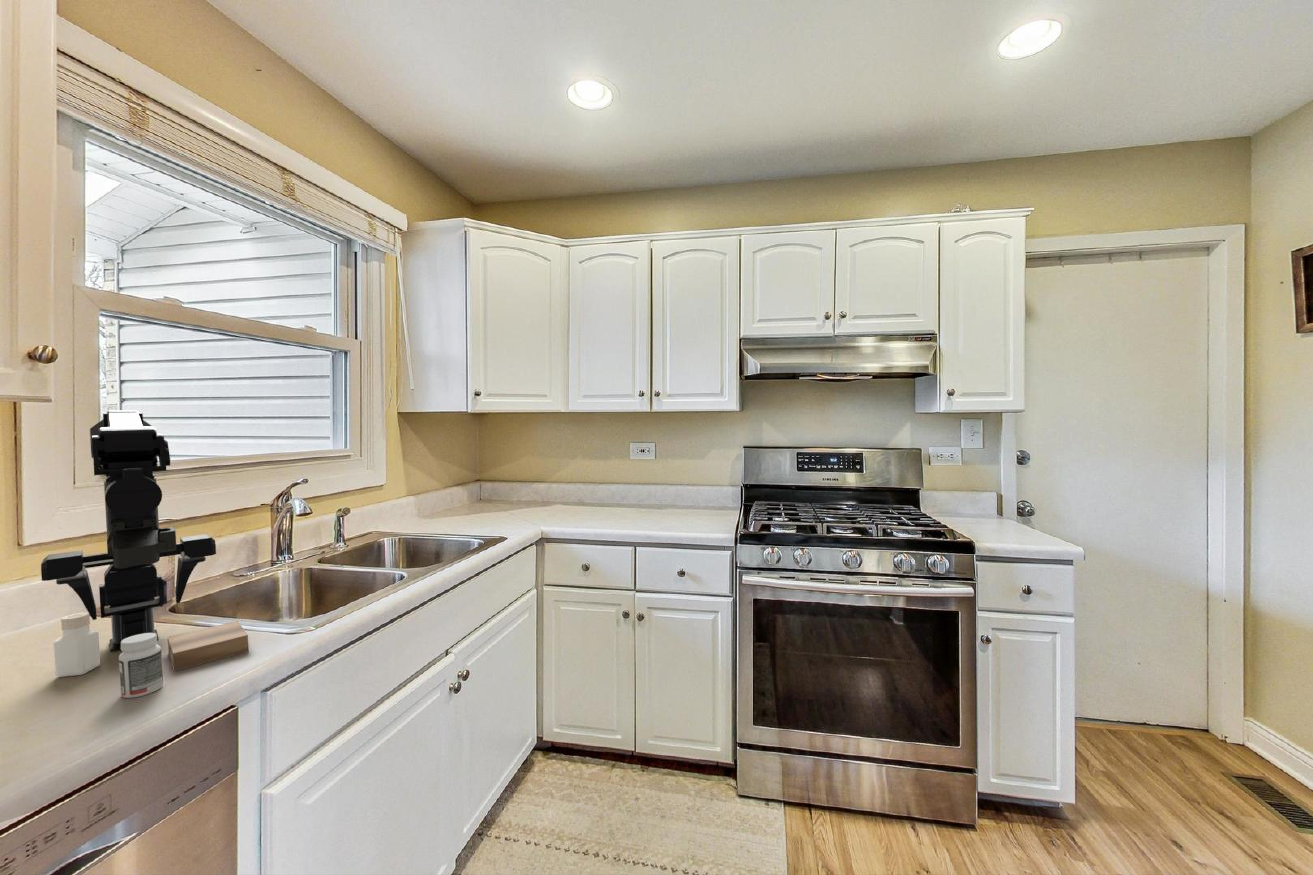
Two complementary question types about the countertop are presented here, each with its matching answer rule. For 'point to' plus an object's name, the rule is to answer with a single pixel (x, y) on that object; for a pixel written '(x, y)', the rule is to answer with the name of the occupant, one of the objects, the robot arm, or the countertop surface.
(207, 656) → the brown square block
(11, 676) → the countertop surface
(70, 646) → the pepper shaker
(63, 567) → the robot arm
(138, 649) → the pill bottle
